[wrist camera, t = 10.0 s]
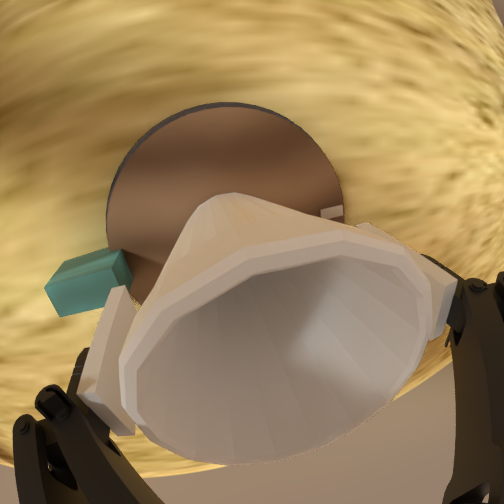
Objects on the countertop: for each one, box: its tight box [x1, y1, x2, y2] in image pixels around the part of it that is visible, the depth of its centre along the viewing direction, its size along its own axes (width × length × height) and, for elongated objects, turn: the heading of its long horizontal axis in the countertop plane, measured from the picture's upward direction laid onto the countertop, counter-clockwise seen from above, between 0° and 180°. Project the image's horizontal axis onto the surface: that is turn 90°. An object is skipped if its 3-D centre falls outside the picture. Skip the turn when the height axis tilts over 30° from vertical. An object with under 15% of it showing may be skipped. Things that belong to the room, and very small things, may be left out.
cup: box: [119, 192, 433, 466], centre depth 13 cm, size 10×10×13 cm
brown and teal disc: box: [44, 107, 344, 317], centre depth 18 cm, size 17×22×4 cm
